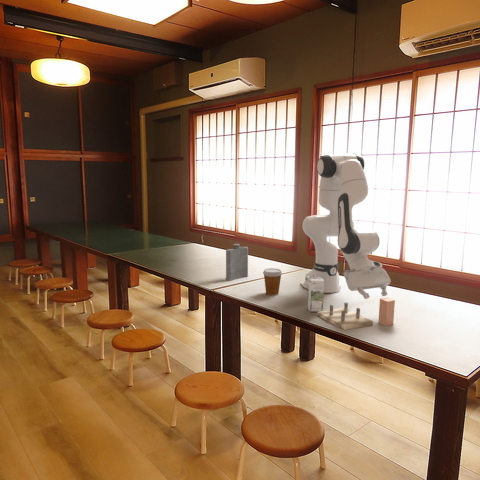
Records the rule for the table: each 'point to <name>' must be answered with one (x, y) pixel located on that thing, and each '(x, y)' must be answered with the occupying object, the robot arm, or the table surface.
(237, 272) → the hip flask
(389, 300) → the terracotta block
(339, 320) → the peg board
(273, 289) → the disposable coffee cup
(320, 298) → the syrup box
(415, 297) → the table surface
